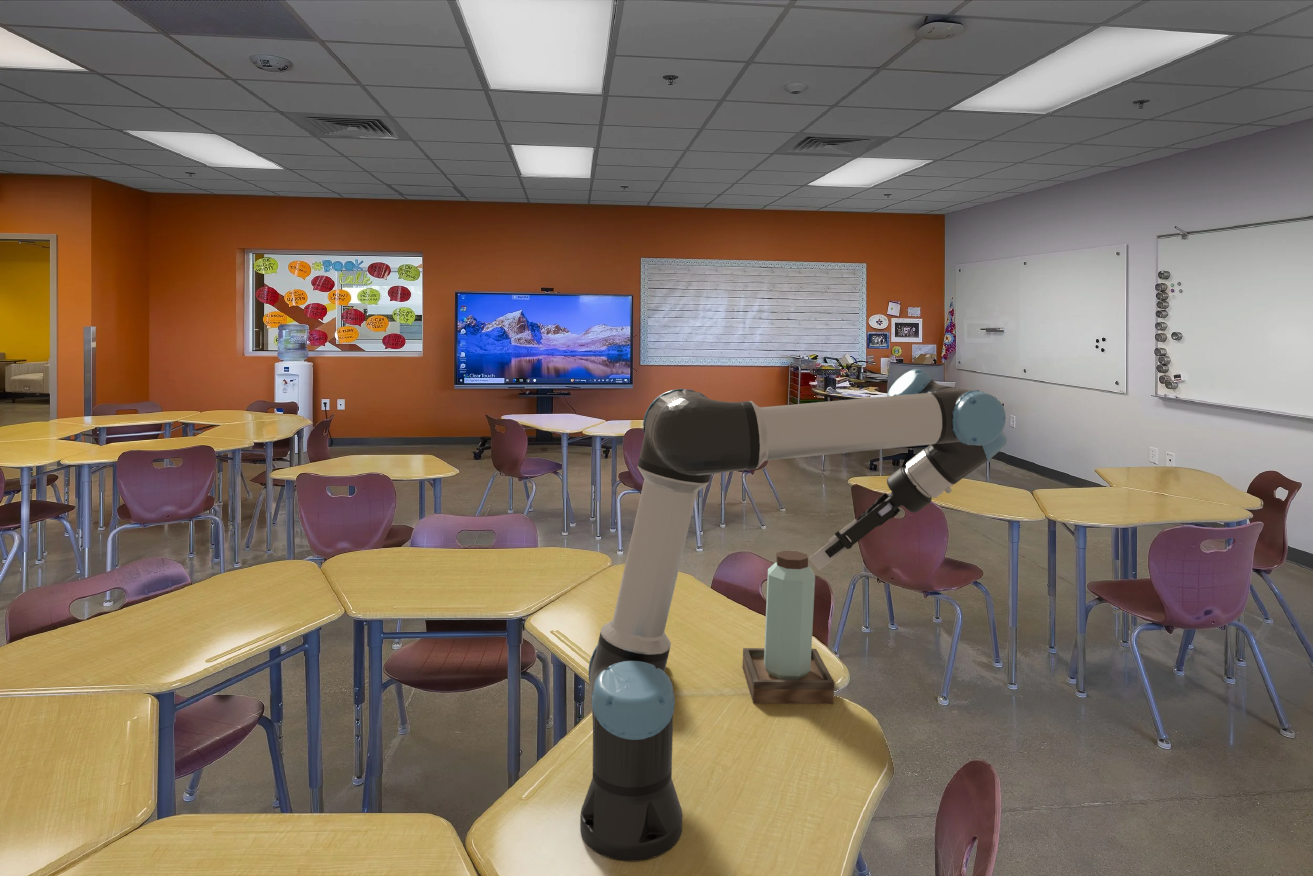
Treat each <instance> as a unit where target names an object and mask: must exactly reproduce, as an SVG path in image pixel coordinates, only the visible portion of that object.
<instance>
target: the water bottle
mask: <svg viewBox="0 0 1313 876" xmlns="http://www.w3.org/2000/svg"><path fill="white" fill-rule="evenodd" d="M775 561H776V562H774V563H773V564H772V565H771V566H770V567H769V568H767V577H766V579H767V580H766V581H767V583H766V606H765V628H764V629H765V631H764V648H765V649H764V665H765V669H766V671H767V672H768V674H770V675H772V676H774V677H776V678H778V679H783V680H798V679H800V678H802V677H805V676H806V675H807V674H808V673H809V672H810V667H811V649H813V647H812V645H813V644H812V643H813V629H814V627H813V626H814V625H813V624H814V607H815V605H814V603H815V585H816V575H815V572H814V570H813V569H812V568H811V566H810V565H809V557H808V554H807V553H804V552H800V551H797V550H782V551H778V552H776V560H775Z"/></svg>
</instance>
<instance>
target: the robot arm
mask: <svg viewBox="0 0 1313 876" xmlns="http://www.w3.org/2000/svg"><path fill="white" fill-rule="evenodd" d="M1006 419H1007V418H1006V410H1005V407H1004V405H1003V403H1002V402H1001V401H1000V400H999V398H997V397H996V396H994V395H992V394H990V393H986V392H984V391H980V390H979V389H975V390H972V389H967V388H966V389H965V388H958V387H953V386H950V385H949V386H947V385H943V384H939V383H937V382H936V381H935V380H934V377H932V376H930V375H929V374H928V373H926V372H925V371H924V370H923V369H922V368H921V369H920V368H913V369H910V370H909V371H906V372H905V373H903V374H902V375H900V377H898V378H897V379H896V380H895V381H894V382H893V384H892V385H891V386H890V388H889V389H888V391H887V394H886V396H878V397H877V396H876V397H866V398H854V399H842V400H832V401H831V400H830V401H817V402H809V403H808V402H807V403H797V404H785V405H773V406H771V405H770V406H761V407H760V406H758V405H757V404H756V403H754V401H753V400H747V401H723V400H716V399H711V398H708V397H707V396H706V395H705V394H703V393H701V392H698V391H695V390H694V389H686V388H679V389H676V388H675V389H671V390H669V391H666V392H663V393H662V394H660V395H658V396H657V397H655V399H654V400H653V401H651V403H650V405H649V406H648V408H647V409H646V411H645V413H644V417H643V420H642V426H643V427H642V430H643V435H644V436H643V439H642V444H641V449H640V452H639V453H640V454H639V458H638V463H637V469H638V471H639V472H640V474H641V475H642V478H643V479H644V480H643V483H642V489H641V492H640V496H639V502H638V506H637V510H636V515H635V520H634V523H633V528H632V532H631V537H630V541H629V546H628V550H627V556H626V559H625V565H624V569H623V573H622V578H621V582H620V586H619V590H618V594H617V595H618V596H617V600H616V604H615V608H614V612H613V617H612V620H610V621H608V622H607V623H605V624H603V625H602V627H601V629H600V633H599V636H598V642H597V645H596V647H595V648H594V649H593V651H592V654H591V656H590V660H589V663H588V664H589V665H588V681H589V686H590V697H591V698H590V699H591V713H592V714H591V715H592V716H591V717H592V779H591V781H590V783H589V786H588V790H587V792H586V795H585V798H584V801H583V803H582V805H581V806H582V807H581V809H580V816H579V818H580V822H579V826H580V827H579V828H580V829H579V830H580V835H581V837H582V839H583V841H584V842H585V844H586V845H587V846H588V847H589V848H590V849H591V850H593V851H594V852H595V853H597V854H600V855H601V856H604V857H606V858H610V859H614V860H618V861H627V862H629V861H630V862H631V861H632V862H634V861H644V860H649V859H652V858H655V857H659V856H661V855H663V854H665V853H666V852H668V851H670V850H671V849H672V848H673V847H674V846H675V845H676V844H678V843H677V842H678V841H679V840H680V838H681V835H682V833H683V809H682V807H681V804H680V800H679V797H678V794H677V791H676V788H675V785H674V782H673V778H672V776H673V775H672V773H673V772H672V769H673V767H672V766H673V735H674V734H673V732H674V731H673V730H674V729H673V727H674V725H673V724H674V712H675V705H676V703H675V702H676V701H675V700H676V698H675V694H674V686H673V683H672V681H671V679H670V677H669V675H668V674H667V673H666V672H665V671H666V668H667V667H666V666H667V664H668V659H669V656H670V655H669V654H670V651H671V647H672V644H671V640H670V638H669V637H668V635H667V634H666V633H665V631H666V630H665V629H666V626H667V621H668V617H669V614H670V609H671V605H672V599H673V596H674V592H675V587H676V583H677V580H678V575H679V570H680V567H681V563H682V562H681V561H682V559H683V558H682V557H683V553H684V548H685V545H686V542H687V541H686V540H687V537H688V531H689V528H690V524H691V519H692V515H693V512H694V511H693V510H694V506H695V502H696V497H697V493H698V492H699V490H701V489H703V488H704V487H706V486H708V485H709V483H710V481H711V476H712V475H714V474H715V475H716V474H722V473H723V474H724V473H729V472H739V471H747V470H755V469H756V470H757V469H759V468H760V466H761V465H762V464H763V463H764V462H765V461H775V460H784V459H796V458H806V457H815V456H817V457H818V456H826V455H836V454H846V453H857V452H865V451H866V452H867V451H868V452H869V451H876V450H877V451H878V450H886V449H896V448H907V447H908V448H909V447H917V446H918V447H919V446H926V447H925V448H924V449H922V450H921V451H919V452H918V453H917V454H915V455H914V456H913V457H912V458H910V459H909V460H907V462H906V464H905V466H900V468H898V469H897V470H896V471H894V472H893V473H892V474H891V475H889V476H888V477H887V479H886V484H887V485H886V486H888V489H889V490H890V491H891V492H890V493H889V494H887V493H886V492H884V493H883V494H882V495H881V496H879V497H878V498H877V499H876V500H875V501H874V503H872V505H871V506H870V507H868V508H867V509H866V510H865V511H863V512H862V514H861V515H858V517H857V518H855V519H853V521H851V522H850V523H848V524H847V525H845V527H843V528H841V530H837V531H836V532H835V533H834V535H833V536H831V537H830V538H829V539H828V542H827V543H826V544H825V545H823V546H822V547H821V548H820V549H819V550H817V551H816V552H815V553H813V554H812V555H810V556H809V557H808V560H810V561H811V563H812V564H813V565H814V566H815V567H816V569H817V570H818V571H820V570H822V569H823V568H824V567H826V566H828V564H830V563H831V562H832V561H834V560H835V559H836V558H838V557H839V556H841V555H842V554H843V553H845V552H846V551H847V550H851V548H852V547H853V546H854V545H855V544H857V542H858V543H859V541H861V539H863V538H864V537H865V536H867V535H868V534H870V532H871V531H873V530H874V529H875V528H879V527H880V526H882V525H884V524H885V523H886V522H887V521H888V520H891V519H893V518H894V517H896V516H897V515H898V514H899V513H900V512H901V509H900V507H901V506H903V507H905V509H907V511H909V512H910V513H913V514H914V513H915V514H916V513H918V512H920V511H921V510H923V509H924V508H925V507H926V506H928V505H929V504H930V503H932V499H937V498H938V497H940V495H942V494H943V493H944V492H945V493H946V494H950V493H951V492H952V491H953V489H952V488H951V487H953V486H954V485H955V484H958V482H960V481H961V480H962V479H964V478H965V477H966V476H968V475H970V474H971V473H972V472H974V471H975V470H976V469H977V468H979V467H980V466H982V465H983V464H984V463H986V462H989V461H990V459H992V458H993V457H995V456H996V455H997V453H999V452H1000V451H1001V450H1003V448H1004V447H1006V445H1007V443H1008V438H1007V435H1006V434H1005V432H1004V428H1005V425H1006Z"/></svg>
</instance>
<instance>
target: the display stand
mask: <svg viewBox="0 0 1313 876" xmlns="http://www.w3.org/2000/svg"><path fill="white" fill-rule="evenodd" d="M764 649H765V647H764V648H763V647H758V648H756V647H755V648H754V647H748V648H747V647H743V648H742V666H741V667H742V670H743V674H745V675H744V677H745V680H746V685H747V687H748V690H749V695H750V698H751V700H752V703H753V704H796V705H797V704H803V705H804V704H808V705H809V704H812V705H814V704H816V705H818V704H819V705H820V704H821V705H822V704H823V705H824V704H825V705H828V704H829V705H831V704H832V705H833V704H834V699H835V698H834V697H835V696H834V695H835V694H834V693H835V680H834V679H833V677H832V675H831V673H830V671H829V670H828V668H827V666H826V664H825V663H824V660H823V658H822V657H821V655H820V653H819V652H818V650H817V648H811V667H810V672H809V673H808V674H807V675H806V676H805V677H802V678H800V679H798V680H783V679H778V678H776V677H774V676H772V675H770V674H768V672H767V671H766V669H765V665H764ZM833 696H834V697H833Z"/></svg>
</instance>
